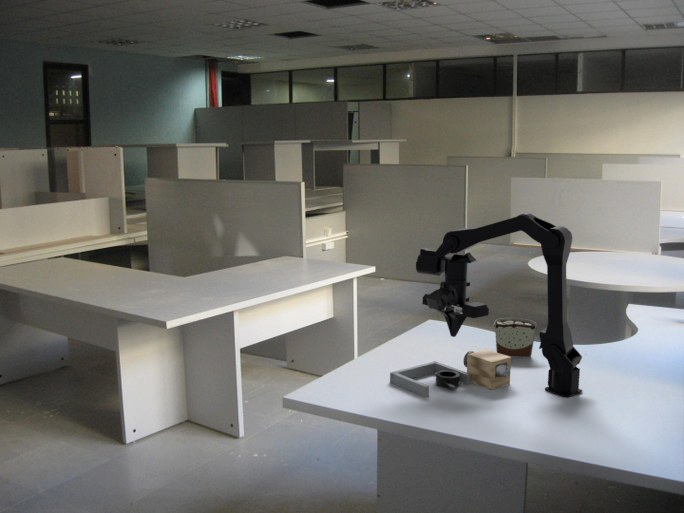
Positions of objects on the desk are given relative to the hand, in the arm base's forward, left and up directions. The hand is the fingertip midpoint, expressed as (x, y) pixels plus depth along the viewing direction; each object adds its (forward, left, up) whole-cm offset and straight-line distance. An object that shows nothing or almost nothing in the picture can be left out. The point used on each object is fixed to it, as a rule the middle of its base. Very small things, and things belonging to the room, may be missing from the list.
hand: (453, 336), depth 183 cm
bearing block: (-12, 0, -9) cm, 15 cm away
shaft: (-12, 0, -7) cm, 14 cm away
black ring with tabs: (-7, +9, -10) cm, 15 cm away
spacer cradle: (-4, +12, -9) cm, 15 cm away
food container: (0, -24, -9) cm, 26 cm away
